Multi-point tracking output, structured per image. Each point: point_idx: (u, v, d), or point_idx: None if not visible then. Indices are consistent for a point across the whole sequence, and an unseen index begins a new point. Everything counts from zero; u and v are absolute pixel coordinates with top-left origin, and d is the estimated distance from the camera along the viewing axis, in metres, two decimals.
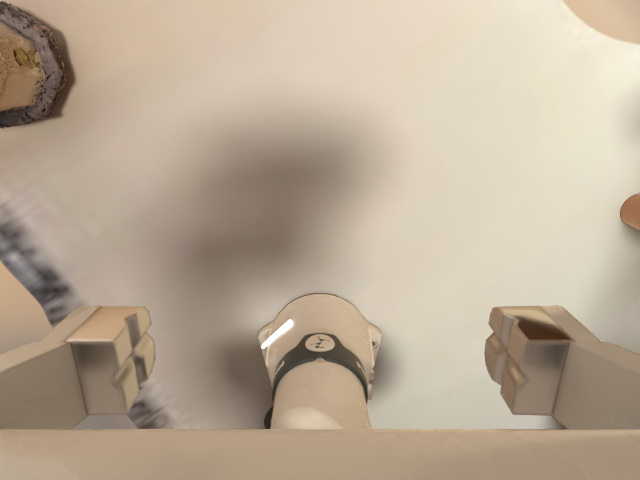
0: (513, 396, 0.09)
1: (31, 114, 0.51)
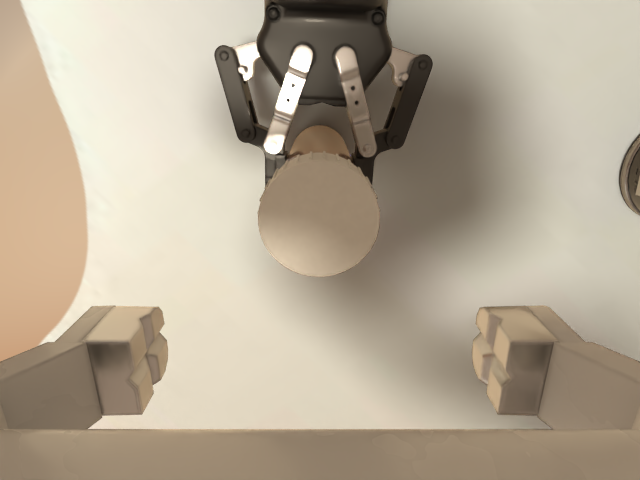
0: (497, 396, 0.09)
1: None
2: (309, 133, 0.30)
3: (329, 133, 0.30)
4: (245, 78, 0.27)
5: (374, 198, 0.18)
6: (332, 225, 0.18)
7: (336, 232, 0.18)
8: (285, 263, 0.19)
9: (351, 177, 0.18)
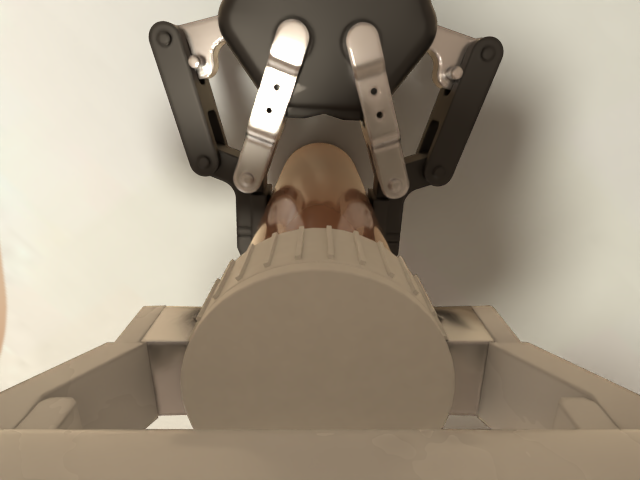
0: None
1: None
2: (304, 158, 0.20)
3: (334, 158, 0.20)
4: (202, 75, 0.17)
5: (445, 348, 0.08)
6: (348, 401, 0.08)
7: (356, 415, 0.08)
8: None
9: (394, 305, 0.07)
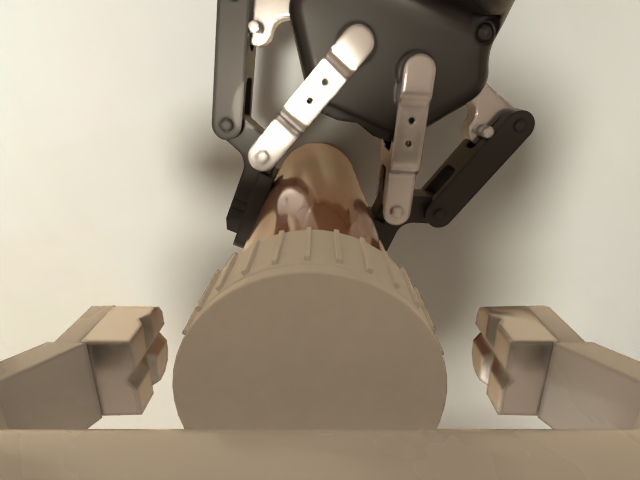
0: (498, 396, 0.09)
1: None
2: (318, 156, 0.20)
3: (346, 166, 0.21)
4: (255, 42, 0.17)
5: (363, 284, 0.07)
6: (337, 384, 0.08)
7: (356, 388, 0.08)
8: None
9: (285, 287, 0.07)
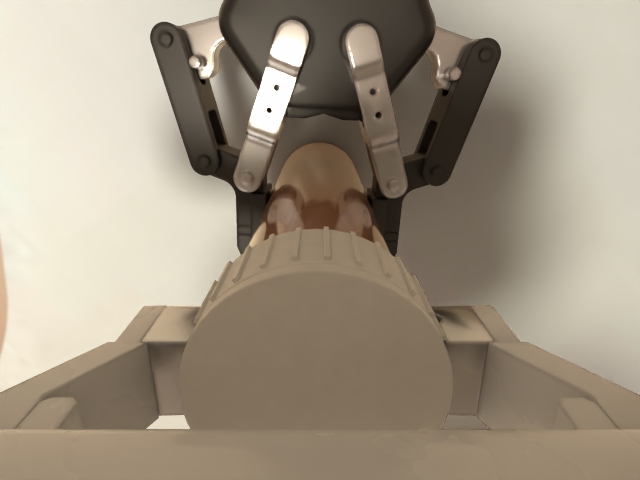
0: None
1: None
2: (304, 158, 0.20)
3: (334, 158, 0.21)
4: (203, 75, 0.17)
5: (319, 273, 0.07)
6: (337, 376, 0.08)
7: (356, 375, 0.08)
8: None
9: (248, 301, 0.07)
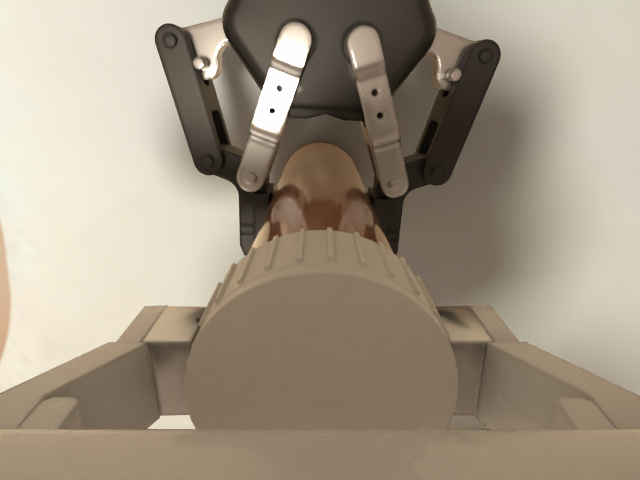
0: None
1: None
2: (306, 158, 0.21)
3: (335, 158, 0.21)
4: (206, 76, 0.18)
5: (195, 345, 0.08)
6: (308, 373, 0.08)
7: (315, 357, 0.08)
8: (450, 392, 0.08)
9: (199, 405, 0.08)
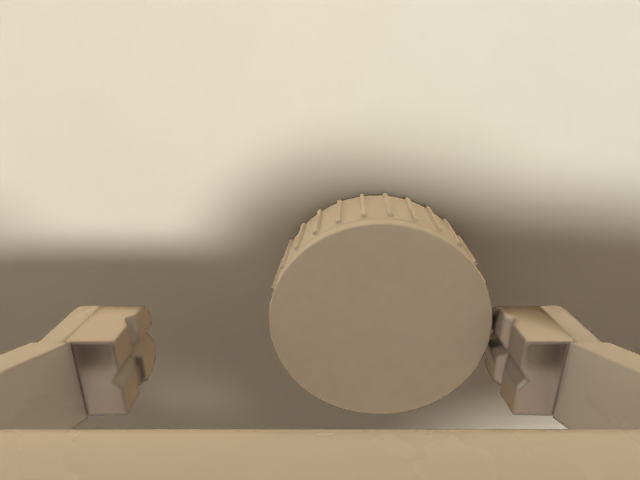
0: (512, 396, 0.09)
1: None
2: None
3: None
4: None
5: (280, 282, 0.10)
6: (368, 307, 0.10)
7: (375, 294, 0.10)
8: (485, 327, 0.10)
9: (280, 332, 0.10)
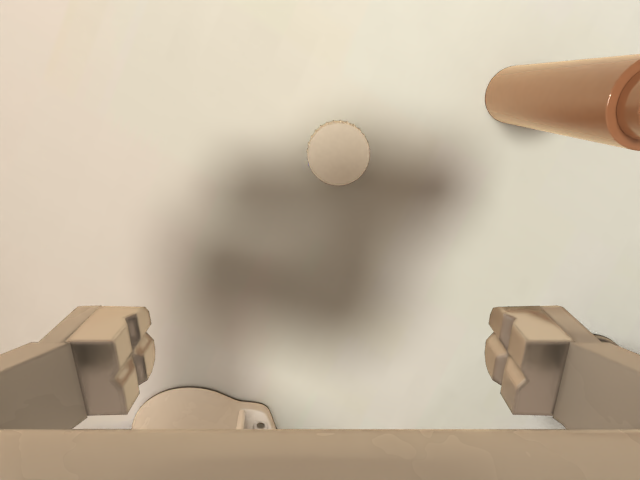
0: (513, 396, 0.09)
1: None
2: None
3: None
4: None
5: (311, 141, 0.35)
6: (335, 148, 0.36)
7: (337, 144, 0.35)
8: (367, 154, 0.36)
9: (310, 157, 0.36)
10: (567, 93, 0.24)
